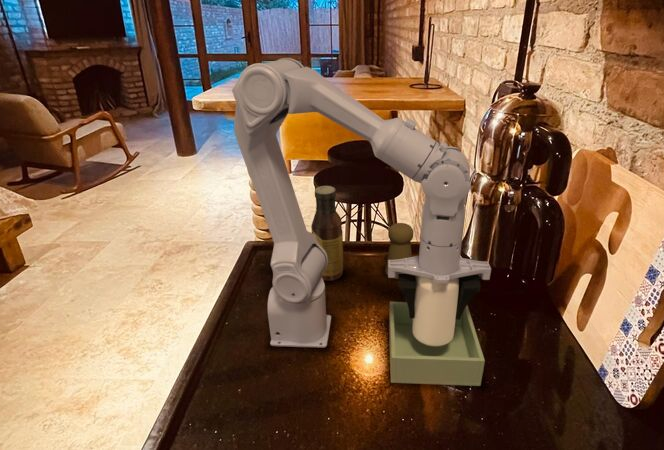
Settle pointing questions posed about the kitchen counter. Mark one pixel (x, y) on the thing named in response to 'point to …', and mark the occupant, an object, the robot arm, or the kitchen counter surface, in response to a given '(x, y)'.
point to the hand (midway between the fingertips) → (433, 314)
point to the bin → (433, 353)
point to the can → (435, 311)
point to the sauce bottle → (329, 231)
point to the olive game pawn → (399, 242)
